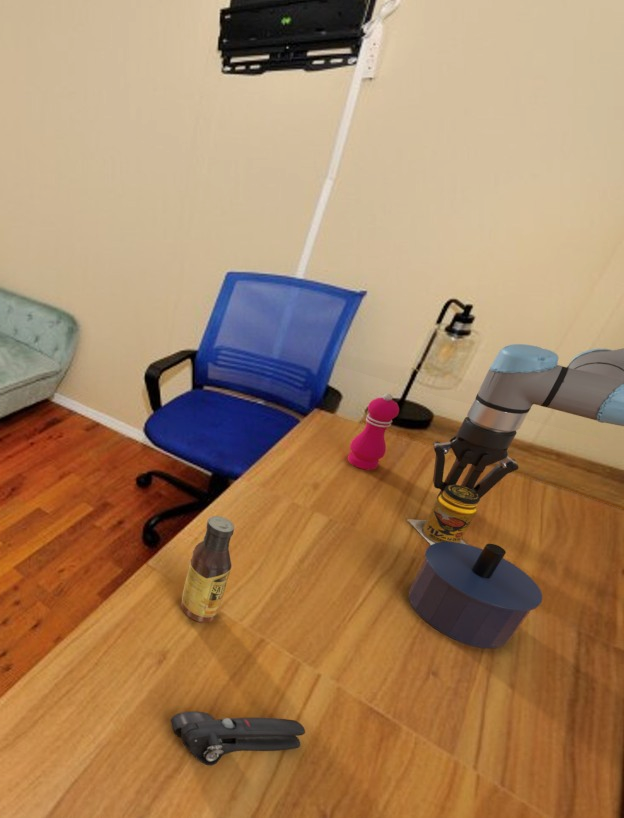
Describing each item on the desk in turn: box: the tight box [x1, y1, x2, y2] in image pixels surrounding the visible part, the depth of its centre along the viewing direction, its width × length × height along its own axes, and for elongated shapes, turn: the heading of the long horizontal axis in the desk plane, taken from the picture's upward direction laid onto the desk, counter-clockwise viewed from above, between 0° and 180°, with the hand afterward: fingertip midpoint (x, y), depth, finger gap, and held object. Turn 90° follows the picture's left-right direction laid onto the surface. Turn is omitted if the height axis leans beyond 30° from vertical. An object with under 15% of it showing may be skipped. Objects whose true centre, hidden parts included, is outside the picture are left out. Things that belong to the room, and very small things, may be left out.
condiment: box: [406, 484, 481, 546], centre depth 104 cm, size 7×8×12 cm
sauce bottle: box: [180, 515, 235, 624], centre depth 86 cm, size 7×6×20 cm
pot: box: [407, 558, 532, 649], centre depth 87 cm, size 14×14×10 cm
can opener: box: [170, 711, 306, 766], centre depth 70 cm, size 18×7×6 cm, turn 90°
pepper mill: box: [347, 393, 400, 471], centre depth 125 cm, size 7×7×20 cm
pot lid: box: [424, 542, 543, 612], centre depth 83 cm, size 15×15×7 cm
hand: (441, 516), depth 108 cm, fingers closed
